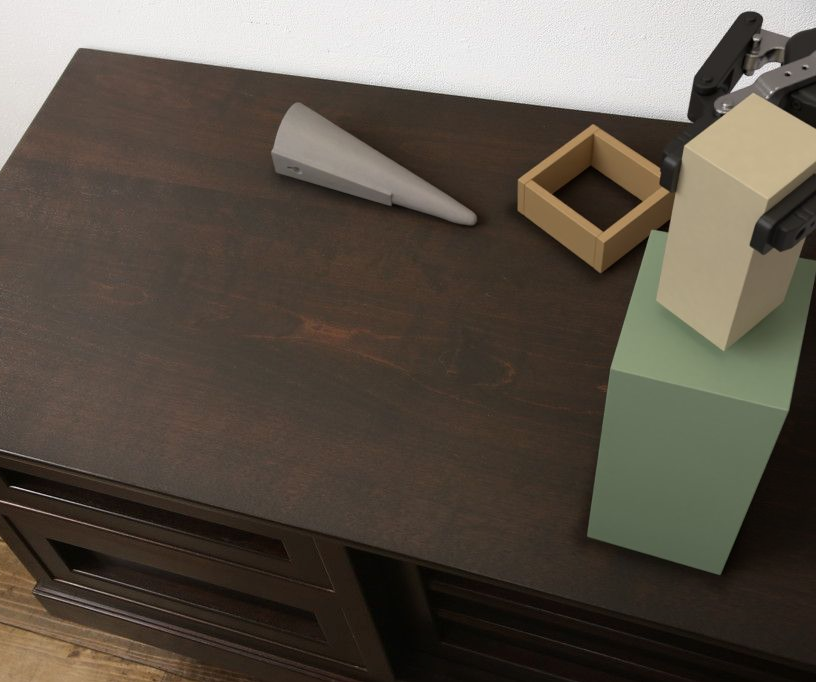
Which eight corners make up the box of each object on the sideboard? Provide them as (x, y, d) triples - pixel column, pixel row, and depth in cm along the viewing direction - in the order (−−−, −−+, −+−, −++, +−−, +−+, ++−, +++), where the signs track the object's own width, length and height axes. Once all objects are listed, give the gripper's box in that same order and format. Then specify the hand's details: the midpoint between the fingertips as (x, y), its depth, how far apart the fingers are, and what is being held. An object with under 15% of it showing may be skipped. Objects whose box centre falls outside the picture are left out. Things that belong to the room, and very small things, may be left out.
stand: (747, 450, 77) (818, 260, 60) (720, 575, 73) (789, 411, 55) (620, 418, 80) (651, 228, 63) (586, 536, 76) (610, 368, 58)
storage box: (675, 214, 90) (682, 182, 87) (600, 273, 88) (604, 242, 85) (590, 156, 95) (593, 123, 92) (517, 210, 93) (517, 179, 90)
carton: (783, 301, 57) (839, 142, 47) (724, 352, 56) (768, 199, 46) (714, 253, 60) (753, 92, 50) (655, 300, 59) (683, 145, 49)
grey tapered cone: (501, 150, 92) (299, 88, 97) (474, 210, 90) (268, 144, 95) (498, 187, 97) (306, 127, 102) (472, 245, 95) (277, 180, 100)
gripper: (844, -107, 54) (598, 71, 50) (1133, 21, 46) (872, 243, 42) (810, 14, 60) (589, 181, 56) (1060, 144, 52) (827, 348, 48)
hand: (713, 206), depth 49 cm, fingers closed on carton, 4 cm apart
